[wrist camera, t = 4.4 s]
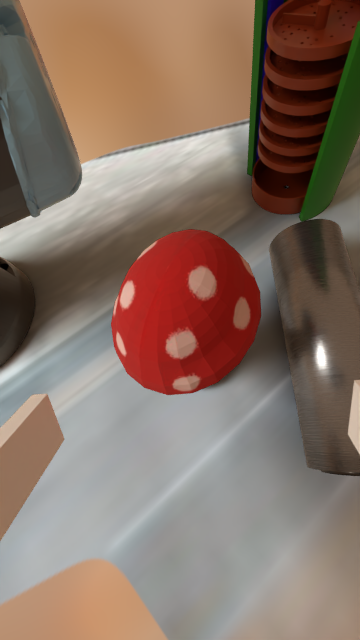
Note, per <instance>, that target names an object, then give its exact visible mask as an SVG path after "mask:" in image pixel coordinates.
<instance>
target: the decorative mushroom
mask: <svg viewBox="0 0 360 640" xmlns="http://www.w3.org/2000/svg"><path fill="white" fill-rule="evenodd" d="M260 318H261V303H260V291H259V288H258V286H257V283H256V281H255V278H254V276H253V273H252V271H251V268H250V266H249V264H248V263H247V262H246V261H245V260H244V259H243V257H242V256H241V255H240V254H239V253H238V252H237V251H236V250H235V249H234V248H233V247H231V246H230V245H229V244H228V243H227V242H226V241H225V240H224V239H222V238H220V237H218V236H216V235H214V234H212V233H210V232H208V231H202V230H194V229H189V230H184V231H178V232H173V233H171V234H169V235H166V236H164V237H162V238H160V239H158V240H157V241H155V242H154V243H153V244H152V245H150V246H149V247H148V248H147V249H145V250H144V251H143V252H142V253H141V255H140V256H139V257H138V258H137V260H136V261H135V262H134V263H133V265H132V266H131V267H130V269H129V271H128V273H127V275H126V277H125V279H124V281H123V283H122V285H121V288H120V292H119V294H118V297H117V299H116V301H115V305H114V311H113V316H112V322H111V327H112V334H113V341H114V347H115V350H116V352H117V355H118V357H119V359H120V360H121V362H122V364H123V366H124V368H125V370H126V372H127V373H128V374H129V375H130V376H131V377H132V378H134V379H135V380H136V381H137V382H138V383H139V384H141V385H142V386H143V387H144V388H147V389H150V390H153V391H157V392H160V393H163V394H166V395H174V394H186V393H194V392H196V391H198V390H201V389H203V388H205V387H208V386H210V385H212V384H215V383H217V382H219V381H220V380H221V379H222V378H223V377H224V376H226V375H227V374H228V373H229V372H230V371H231V370H233V369H234V368H235V367H236V366H237V365H238V364H239V363H240V362H241V360H242V359H243V357H244V356H245V354H246V352H247V351H248V349H249V348H250V346H251V345H252V343H253V342H254V339H255V335H256V332H257V328H258V325H259V321H260Z"/></svg>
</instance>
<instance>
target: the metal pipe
mask: <svg viewBox="0 0 360 640" xmlns="http://www.w3.org/2000/svg"><path fill="white" fill-rule="evenodd" d="M269 252H270V258H271V263H272V269H273V275H274V280H275V286H276V292H277V297H278V303H279V309H280V314H281V320H282V326H283V331H284V337H285V343H286V349H287V354H288V360H289V366H290V371H291V377H292V383H293V388H294V394H295V400H296V405H297V411H298V417H299V422H300V428H301V434H302V439H303V445H304V451H305V457H306V462H307V467H309V468H312V469H318V470H321V471H322V472H325V473H330V474H338V475H351V476H360V454H359V453H358V451H357V449H356V448H355V446H354V444H353V442H352V441H351V439H350V437H349V436H348V428H349V420H350V411H351V403H352V394H353V386H354V380H360V290H359V287H358V284H357V281H356V277H355V274H354V271H353V268H352V264H351V261H350V258H349V255H348V251H347V248H346V245H345V242H344V238H343V235H342V232H341V229H340V227H339V225H338V224H337V223H335V222H333V221H330V220H325V219H314V220H308V221H304V222H300V223H297V224H295V225H292V226H290V227H288V228H287V229H285V230H283V231H282V232H280V233H279V234H278V235H277V236H276V237H275V238H274V239H273V241H272V242H271V244H270V247H269Z"/></svg>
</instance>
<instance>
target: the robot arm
mask: <svg viewBox="0 0 360 640" xmlns="http://www.w3.org/2000/svg"><path fill="white" fill-rule="evenodd" d="M81 180H82V168H81V164H80V160H79V157H78V154H77V151H76V148H75V145H74V142H73V139H72V136H71V133H70V131H69V128H68V125H67V122H66V120H65V117H64V114H63V112H62V109H61V106H60V104H59V101H58V98H57V96H56V93H55V90H54V88H53V85H52V83H51V80H50V77H49V75H48V72H47V70H46V67H45V64H44V62H43V59H42V56H41V54H40V51H39V49H38V46H37V44H36V41H35V38H34V36H33V33H32V31H31V29H30V26H29V23H28V21H27V18H26V16H25V13H24V11H23V8H22V6H21V3H20V1H19V0H0V229H1V228H3V227H5V226H8V225H10V224H12V223H14V222H17V221H19V220H21V219H24V218H26V217H28V216H30V215H31V216H32V217H37V216H39V215H40V212H41V211H42V210H44V209H46V208H48V207H50V206H52V205H54V204H56V203H58V202H60V201H62V200H64V199H66V198H68V197H70V196H72V195H73V194H74V193H75V192H76V191H77V190H78V188H79V186H80V184H81ZM34 306H35V297H34V291H33V287H32V285H31V282H30V281H29V279H28V277H27V276H26V275H25V274H24V273H23V272H22V271H21V270H19V269H18V268H17V267H15V266H14V265H13V264H11V263H10V262H9V261H7V260H5V259H4V258H2V257H0V366H1V365H2V364H3V363H4V362H5V361H6V360H8V358H9V357H10V356H11V355H12V354H13V353H14V352H15V351H16V349H17V348H18V347H19V345H20V344H21V342H22V341H23V339H24V337H25V335H26V333H27V331H28V329H29V327H30V324H31V321H32V318H33V314H34ZM348 436H349V437H350V439H351V441H352V442H353V444H354V446H355V448H356V449H357V451H358V453H359V454H360V380H354V386H353V394H352V403H351V411H350V420H349V428H348ZM63 441H64V437H63V434H62V431H61V429H60V426H59V423H58V421H57V418H56V416H55V413H54V410H53V408H52V405H51V402H50V400H49V397H48V395H47V394H35V395H31V397H30V398H29V399H28V400H27V401H26V402H25V403H24V404H23V405H22V406H21V407H20V408H19V409H18V410H17V411H16V412H15V413H14V415H13V416H12V417H11V418H10V419H9V420H8V421H7V422H6V423H5V424H4V425H3V426H2V427H1V428H0V541H1V539H2V538H3V536H4V534H5V533H6V531H7V530H8V528H9V527H10V525H11V523H12V522H13V520H14V519H15V517H16V515H17V514H18V512H19V511H20V509H21V507H22V506H23V504H24V503H25V501H26V500H27V498H28V496H29V495H30V493H31V492H32V490H33V488H34V487H35V485H36V484H37V482H38V480H39V479H40V477H41V476H42V474H43V473H44V471H45V469H46V468H47V466H48V465H49V463H50V461H51V460H52V458H53V457H54V455H55V454H56V452H57V450H58V449H59V447H60V446H61V444H62V442H63Z"/></svg>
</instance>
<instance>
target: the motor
mask: <svg viewBox="0 0 360 640" xmlns="http://www.w3.org/2000/svg"><path fill="white" fill-rule="evenodd" d="M359 135H360V0H255V18H254V39H253V61H252V82H251V104H250V125H249V146H248V168H247V174H249V175H251V176H252V175H253V177H252V196H253V198H254V200H255V202H256V203H257V204H258V205H259V206H260V207H262V208H263V209H265V210H267V211H269V212H272V213H276V214H294V213H299V212H301V213H300V216H299V218H300V220H301V222H302V221H305V220H308V219H310V218H313V217H315V216H316V215H318V214H320V213H321V212H322V211H323V210H325V209H326V208H327V206H328V205H329V204H330V202H331V201H332V199H333V197H334V194H335V192H336V190H337V187H338V185H339V182H340V180H341V178H342V175H343V173H344V171H345V168H346V166H347V163H348V161H349V159H350V156H351V154H352V152H353V149H354V147H355V144H356V142H357V140H358V137H359ZM284 186H289V188H287V189H285V188H284Z"/></svg>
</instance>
